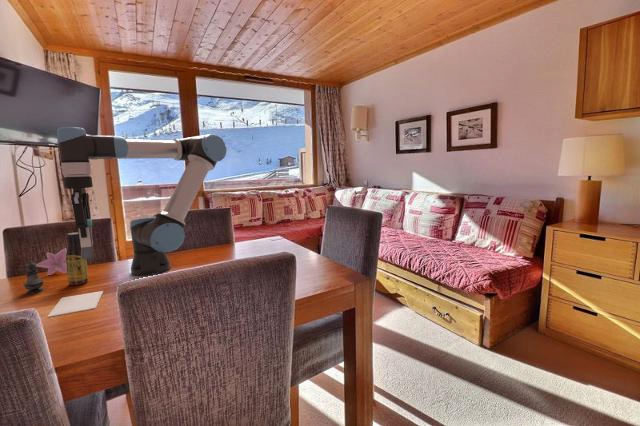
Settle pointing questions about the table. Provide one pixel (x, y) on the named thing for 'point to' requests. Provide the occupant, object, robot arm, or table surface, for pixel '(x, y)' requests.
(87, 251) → the marker
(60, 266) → the lily
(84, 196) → the robot arm
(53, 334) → the table surface
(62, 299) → the paper
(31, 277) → the dark grey chess piece
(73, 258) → the sauce bottle
